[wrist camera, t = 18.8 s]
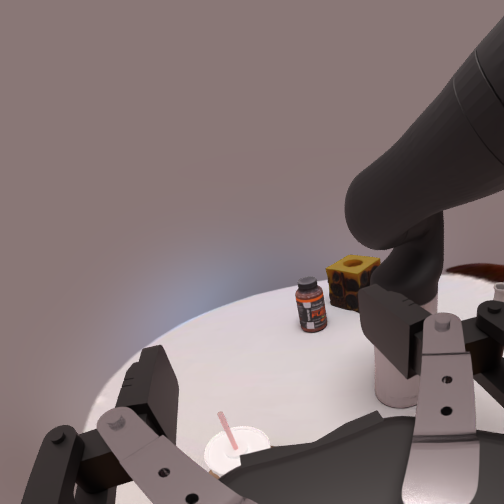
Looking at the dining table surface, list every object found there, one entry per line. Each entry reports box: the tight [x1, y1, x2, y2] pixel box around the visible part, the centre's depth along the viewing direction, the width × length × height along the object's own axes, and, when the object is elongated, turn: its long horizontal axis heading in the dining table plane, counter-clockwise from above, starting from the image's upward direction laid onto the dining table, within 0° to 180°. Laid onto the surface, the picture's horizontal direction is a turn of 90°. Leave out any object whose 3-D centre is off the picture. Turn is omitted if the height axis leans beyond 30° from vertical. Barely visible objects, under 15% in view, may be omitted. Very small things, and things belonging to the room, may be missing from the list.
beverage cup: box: [204, 412, 271, 477], centre depth 24 cm, size 6×6×14 cm
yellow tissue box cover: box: [326, 255, 380, 313], centre depth 72 cm, size 10×10×10 cm
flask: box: [493, 282, 504, 302], centre depth 43 cm, size 7×7×10 cm
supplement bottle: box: [295, 277, 327, 332], centre depth 66 cm, size 6×6×11 cm
